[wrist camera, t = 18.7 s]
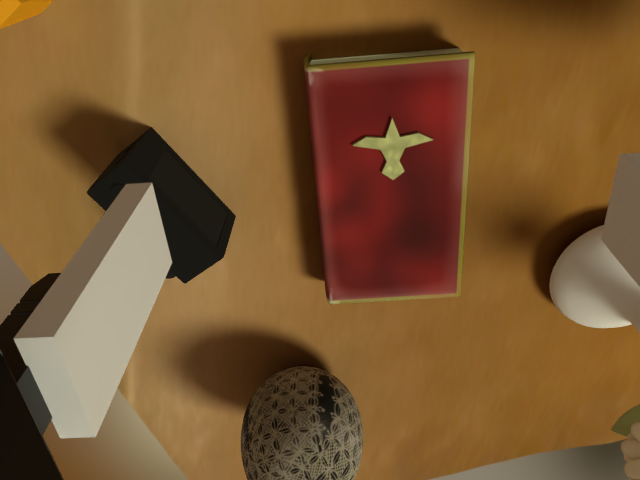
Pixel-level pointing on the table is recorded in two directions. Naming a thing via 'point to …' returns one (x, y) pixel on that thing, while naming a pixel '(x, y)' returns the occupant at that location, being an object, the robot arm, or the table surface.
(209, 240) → the black rectangular block
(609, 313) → the flower in vase
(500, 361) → the table surface
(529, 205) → the table surface
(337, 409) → the decorative egg
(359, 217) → the hardcover book
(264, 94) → the table surface
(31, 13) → the pipe clamp
